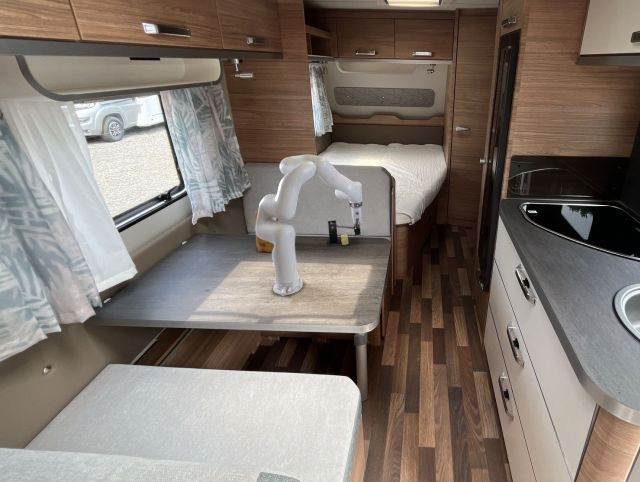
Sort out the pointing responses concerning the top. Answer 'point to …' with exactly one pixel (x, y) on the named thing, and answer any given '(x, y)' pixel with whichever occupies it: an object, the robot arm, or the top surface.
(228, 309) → the top surface
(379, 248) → the top surface
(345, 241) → the butter
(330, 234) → the slicer
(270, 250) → the coffee package
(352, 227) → the lever
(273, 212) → the robot arm
